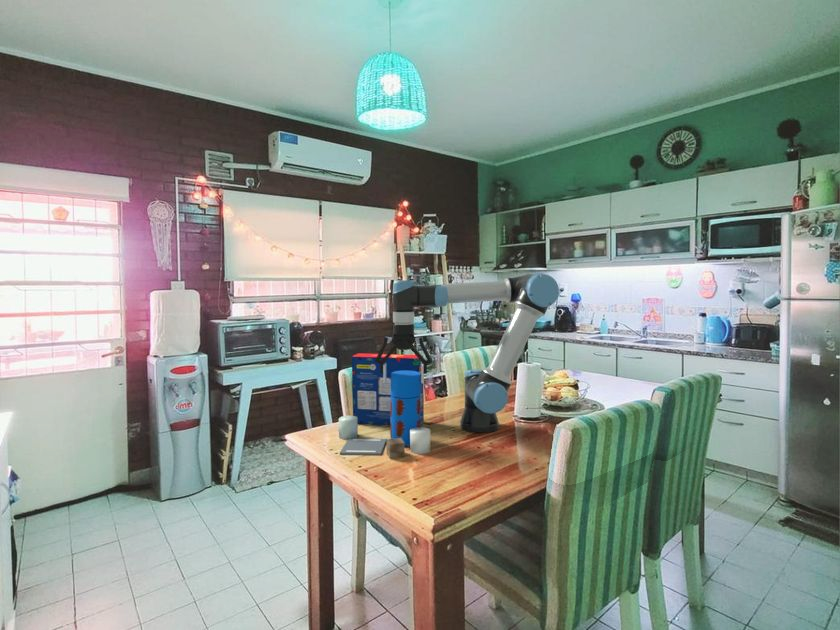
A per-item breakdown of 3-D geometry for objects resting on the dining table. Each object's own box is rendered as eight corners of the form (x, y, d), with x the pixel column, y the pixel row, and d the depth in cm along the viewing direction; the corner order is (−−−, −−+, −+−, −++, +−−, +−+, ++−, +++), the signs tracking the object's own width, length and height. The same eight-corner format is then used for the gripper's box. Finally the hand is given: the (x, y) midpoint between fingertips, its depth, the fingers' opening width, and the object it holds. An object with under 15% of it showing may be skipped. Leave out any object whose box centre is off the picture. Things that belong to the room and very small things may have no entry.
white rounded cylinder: (430, 446, 160) (430, 427, 160) (430, 454, 153) (429, 434, 153) (411, 446, 161) (410, 427, 160) (409, 454, 154) (409, 433, 153)
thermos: (413, 448, 159) (414, 377, 157) (385, 443, 162) (385, 374, 161) (424, 438, 169) (424, 371, 167) (397, 434, 173) (398, 369, 171)
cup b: (359, 433, 175) (359, 415, 174) (355, 439, 168) (355, 421, 168) (341, 433, 175) (341, 415, 175) (337, 439, 168) (336, 421, 168)
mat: (386, 440, 167) (386, 438, 167) (380, 455, 153) (380, 453, 153) (348, 439, 168) (348, 438, 168) (339, 454, 154) (339, 452, 154)
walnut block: (401, 452, 156) (400, 437, 155) (404, 457, 151) (404, 442, 150) (386, 453, 154) (386, 439, 154) (389, 459, 149) (389, 444, 149)
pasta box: (423, 421, 189) (423, 355, 187) (419, 427, 181) (418, 358, 179) (359, 418, 195) (358, 353, 193) (353, 423, 187) (351, 356, 185)
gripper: (438, 322, 165) (438, 380, 167) (370, 322, 167) (371, 379, 168) (438, 324, 158) (438, 385, 159) (367, 324, 159) (367, 384, 161)
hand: (403, 382), depth 164 cm, fingers open, 13 cm apart
